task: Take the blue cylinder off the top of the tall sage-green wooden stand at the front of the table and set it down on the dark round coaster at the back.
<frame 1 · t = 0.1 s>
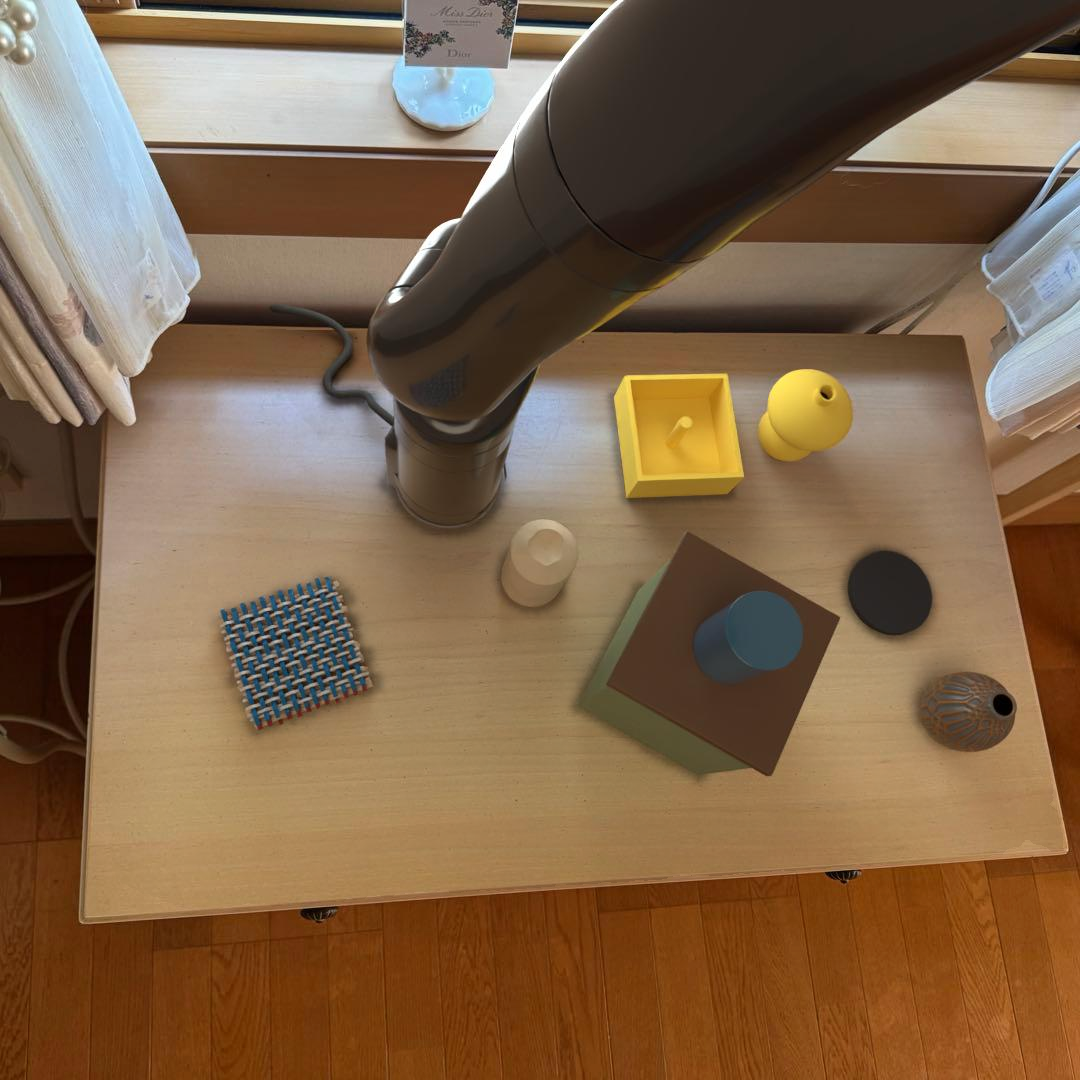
vase: (942, 716, 82), on the table
blue cylinder: (728, 648, 64), point 16 cm above the table, touching stand
coaster: (887, 593, 85), on the table
stand: (667, 680, 79), on the table
bath set: (719, 444, 87), on the table
woven mat: (296, 654, 76), on the table
candle: (530, 578, 81), on the table
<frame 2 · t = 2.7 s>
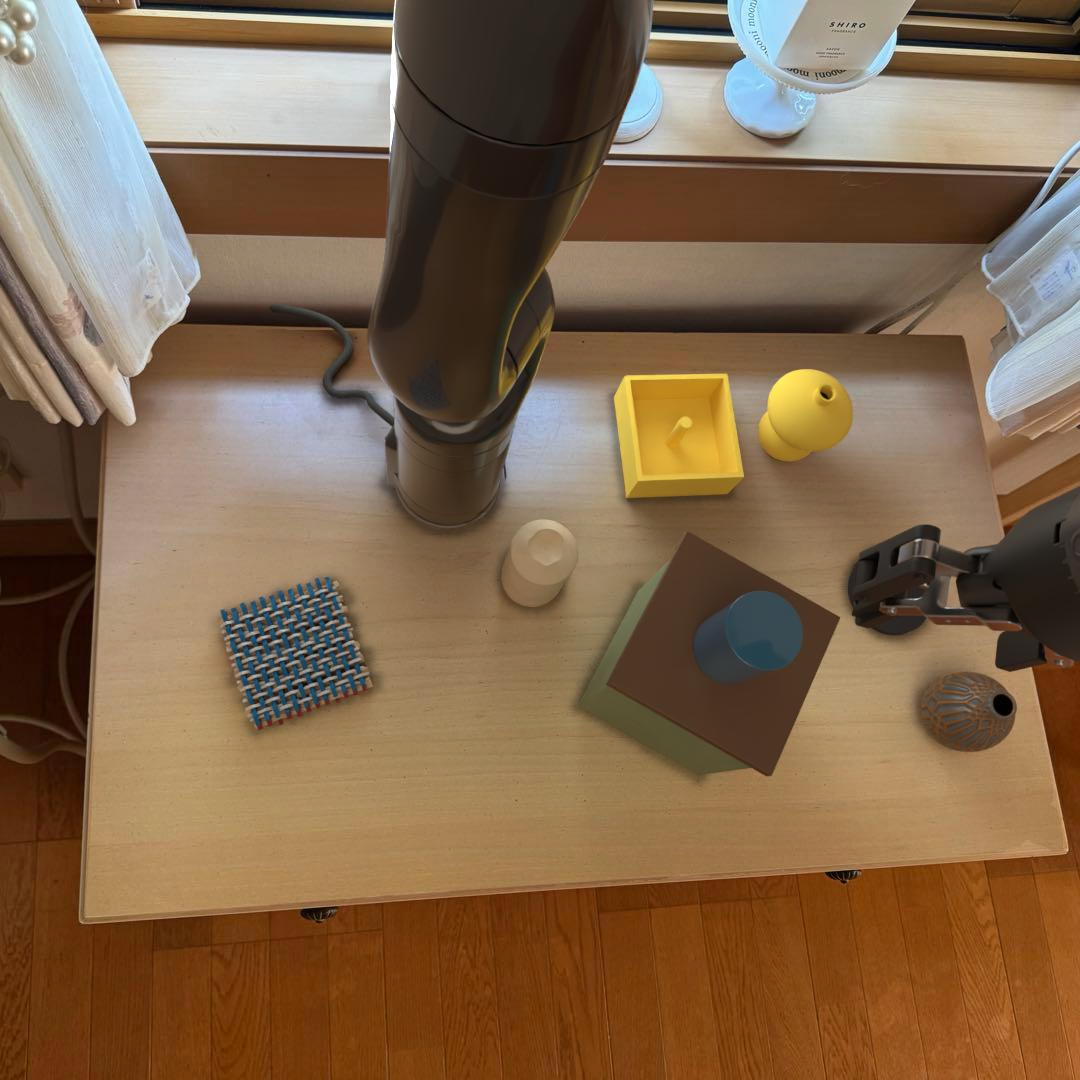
hand: (931, 631, 51), 30 cm above the table, tool pointing down, fingers open, 8 cm apart
nothing on the table moved.
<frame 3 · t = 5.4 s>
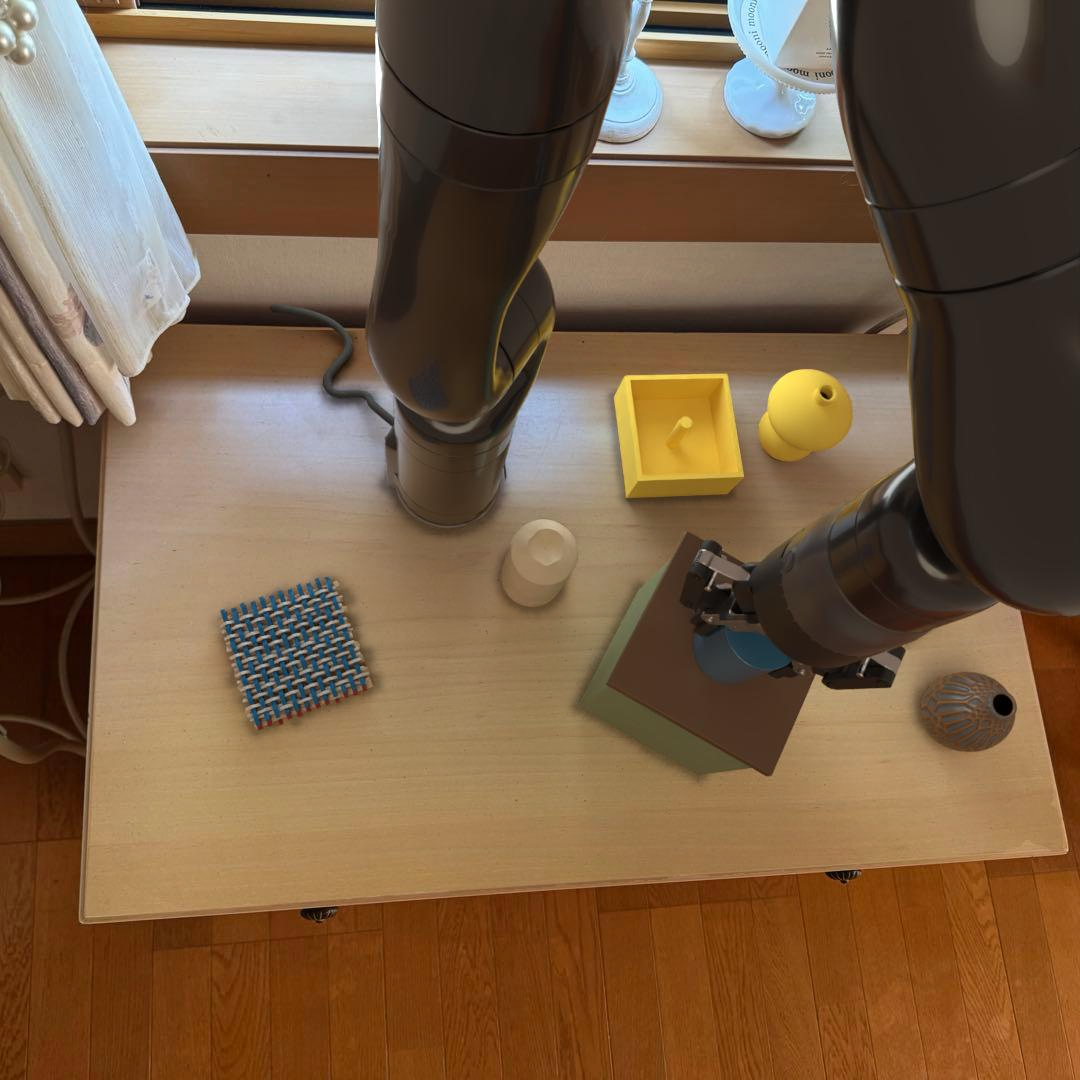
hand: (739, 642, 62), 18 cm above the table, tool pointing down, fingers closed on blue cylinder, 5 cm apart
blue cylinder: (728, 648, 64), point 16 cm above the table, touching gripper, stand
everything else where it was.
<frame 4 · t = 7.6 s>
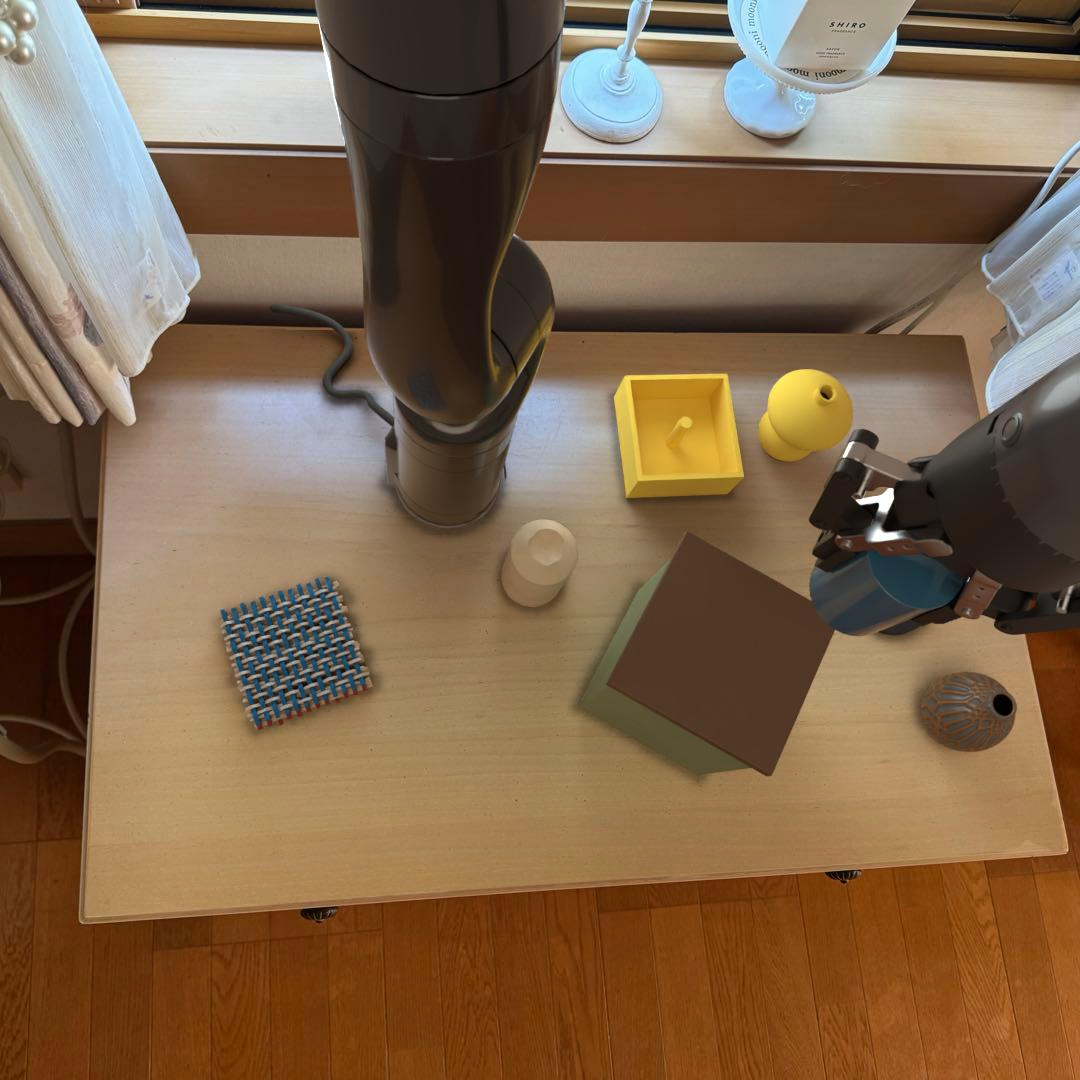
hand: (872, 580, 49), 33 cm above the table, tool pointing down, fingers closed on blue cylinder, 5 cm apart
blue cylinder: (852, 591, 51), point 30 cm above the table, touching gripper
everything else where it was.
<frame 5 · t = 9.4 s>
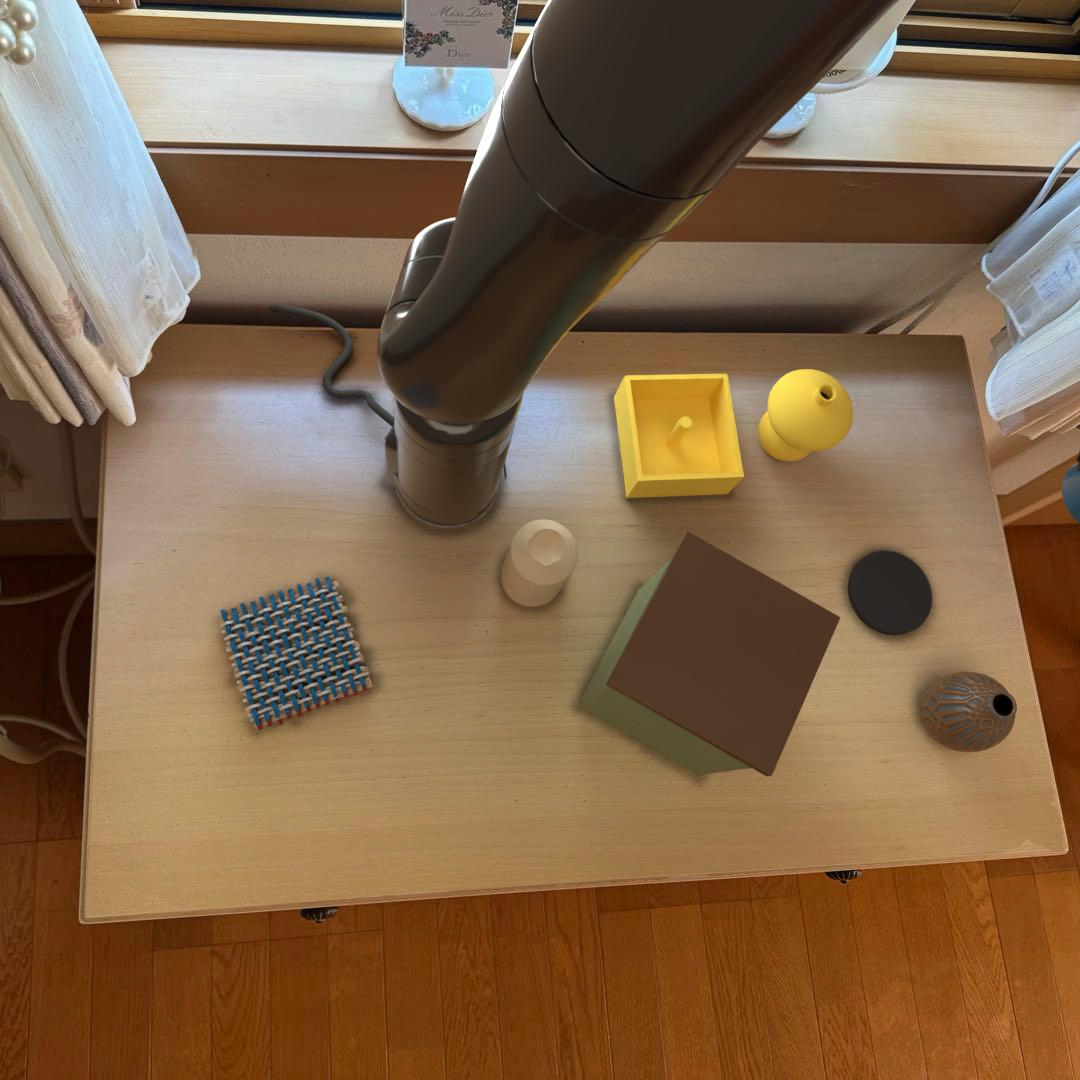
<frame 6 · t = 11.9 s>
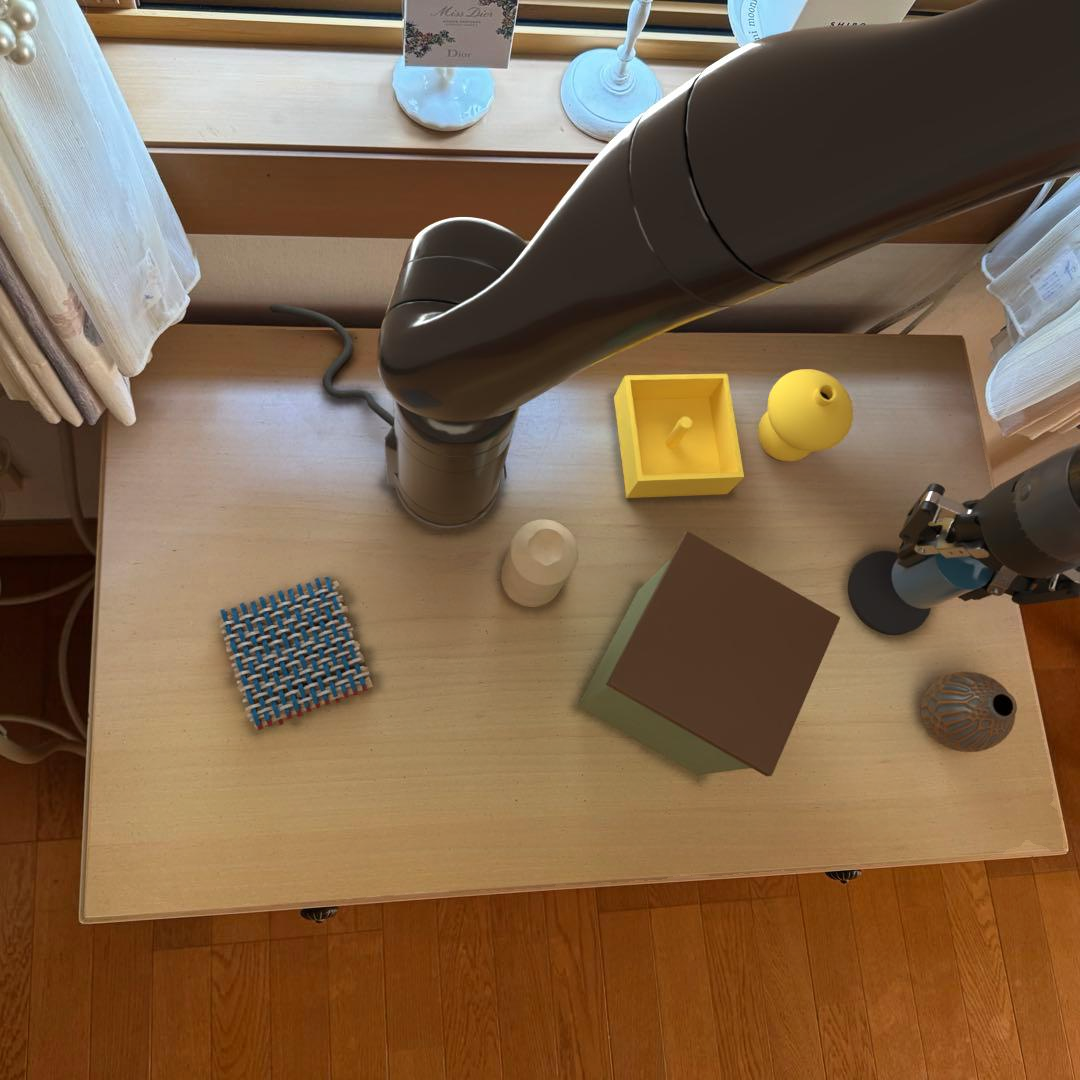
hand: (933, 572, 77), 8 cm above the table, tool pointing down, fingers closed on blue cylinder, 5 cm apart
blue cylinder: (918, 580, 80), point 5 cm above the table, touching gripper
everything else where it was.
when the fingers open (3 cm above the table, at t = 13.7 s): blue cylinder stays where it is, resting on coaster.
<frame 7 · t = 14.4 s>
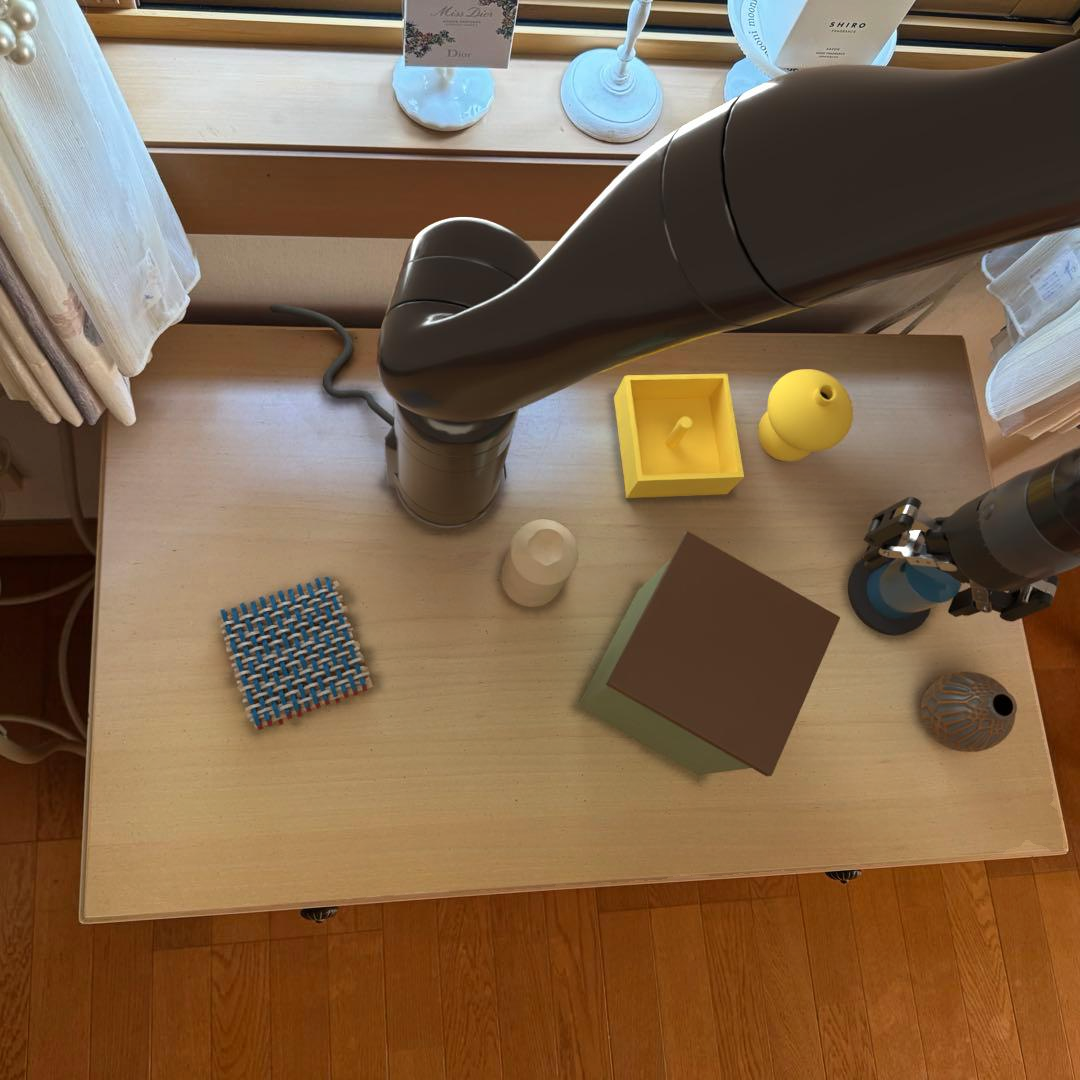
hand: (912, 582, 81), 4 cm above the table, tool pointing down, fingers open, 8 cm apart
blue cylinder: (892, 592, 84), point 1 cm above the table, touching coaster
everything else where it was.
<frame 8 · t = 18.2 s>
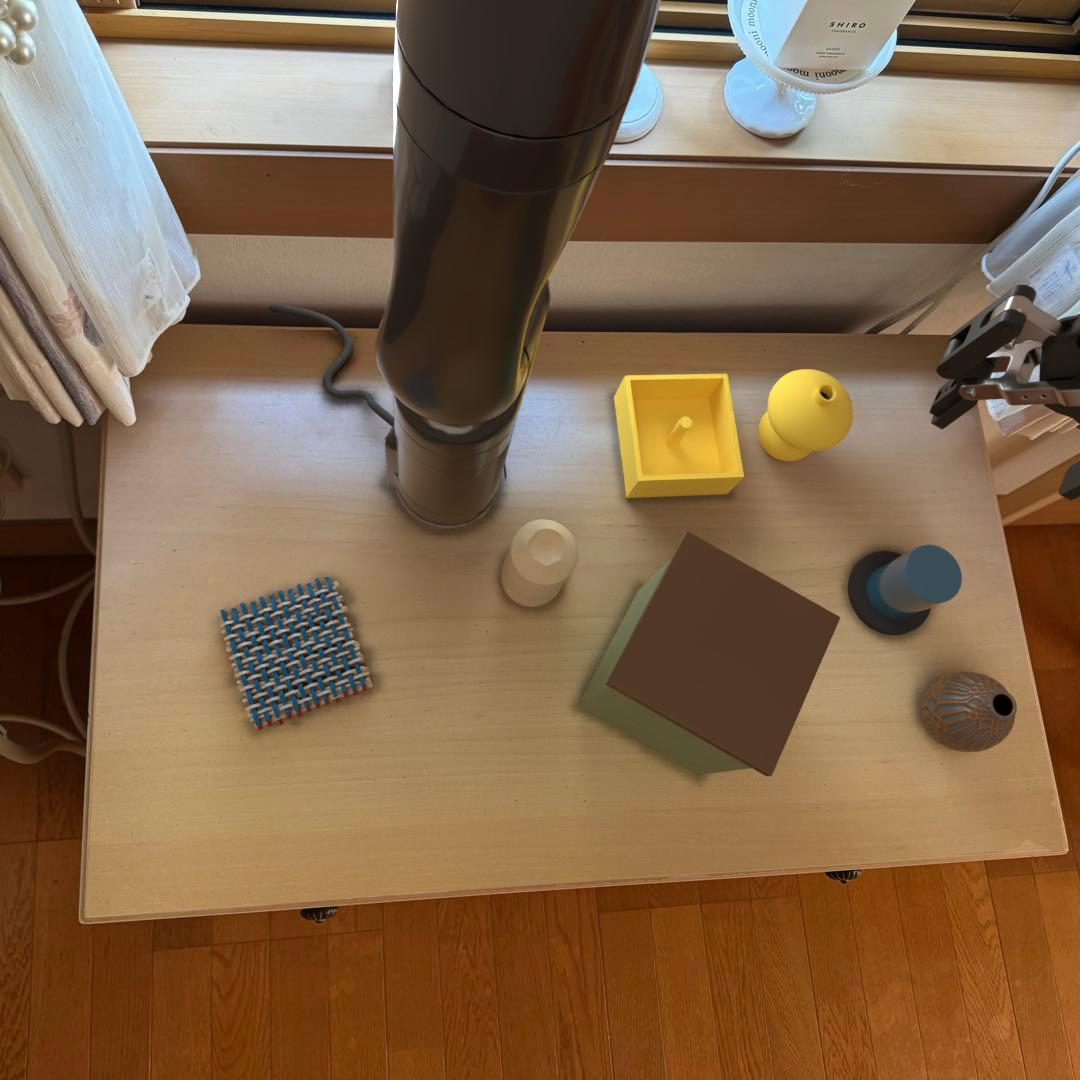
hand: (1003, 449, 53), 32 cm above the table, tool pointing down, fingers open, 8 cm apart
nothing on the table moved.
at the end: blue cylinder 0.1 cm off-centre on the coaster, point 0.8 cm above the coaster's base; blue cylinder tilted 0°; blue cylinder touching coaster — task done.
